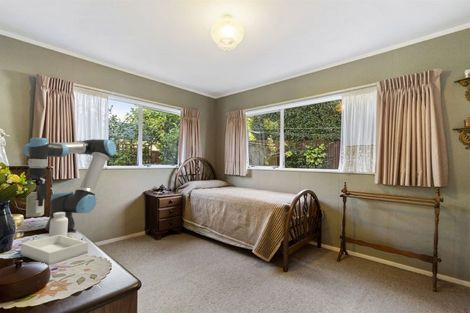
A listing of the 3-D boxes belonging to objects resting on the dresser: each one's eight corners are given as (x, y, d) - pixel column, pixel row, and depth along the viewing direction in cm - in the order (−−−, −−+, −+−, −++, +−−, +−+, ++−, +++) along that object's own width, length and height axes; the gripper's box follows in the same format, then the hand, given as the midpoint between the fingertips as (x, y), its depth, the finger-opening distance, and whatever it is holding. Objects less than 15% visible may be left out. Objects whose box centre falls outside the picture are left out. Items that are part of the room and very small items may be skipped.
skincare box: (44, 214, 124) (45, 191, 124) (40, 216, 120) (41, 192, 120) (29, 215, 122) (30, 191, 122) (24, 217, 117) (26, 192, 118)
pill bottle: (51, 244, 122) (53, 215, 123) (46, 240, 127) (48, 212, 127) (69, 240, 128) (70, 212, 129) (64, 237, 133) (65, 210, 134)
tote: (59, 244, 122) (59, 234, 122) (87, 252, 111) (88, 242, 111) (20, 254, 107) (21, 243, 108) (48, 265, 97) (49, 253, 97)
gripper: (19, 166, 123) (16, 210, 122) (39, 167, 114) (36, 215, 113) (36, 166, 129) (33, 208, 128) (56, 167, 120) (54, 212, 120)
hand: (35, 211), depth 121 cm, fingers closed on skincare box, 7 cm apart
